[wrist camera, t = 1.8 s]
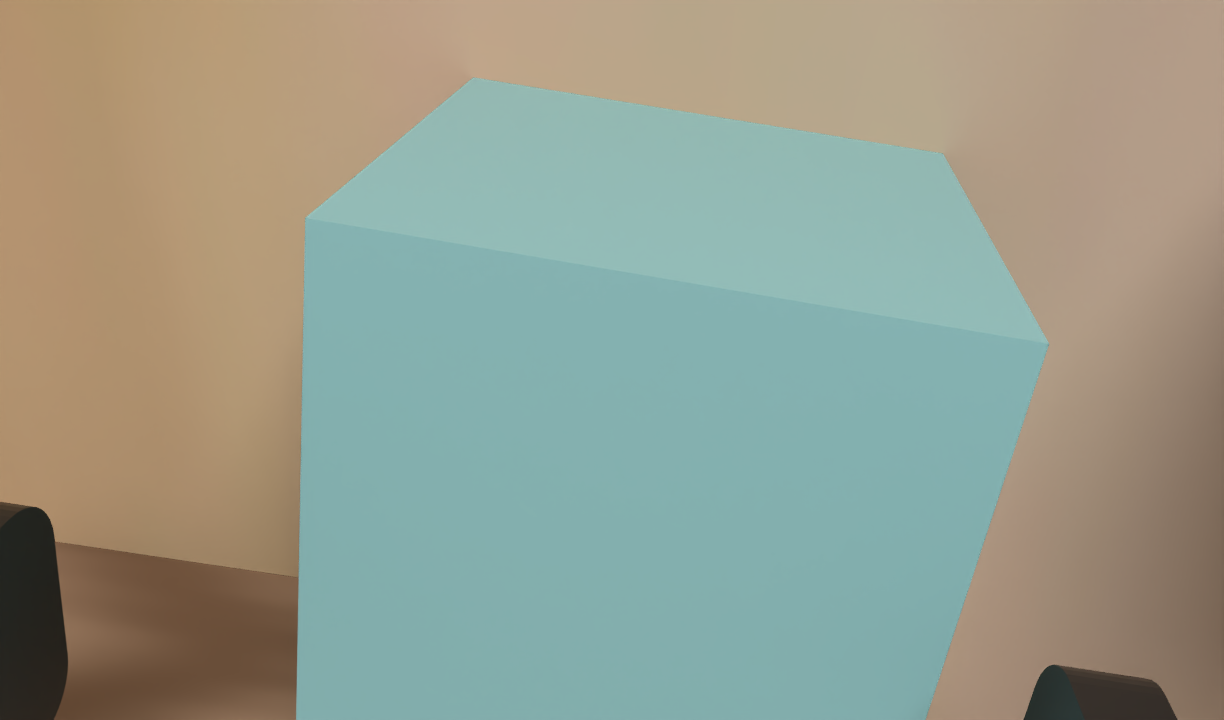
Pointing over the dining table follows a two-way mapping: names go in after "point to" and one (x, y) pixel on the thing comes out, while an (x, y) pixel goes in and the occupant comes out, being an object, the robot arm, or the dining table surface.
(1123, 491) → the dining table surface
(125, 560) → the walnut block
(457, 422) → the teal cube
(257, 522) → the dining table surface
